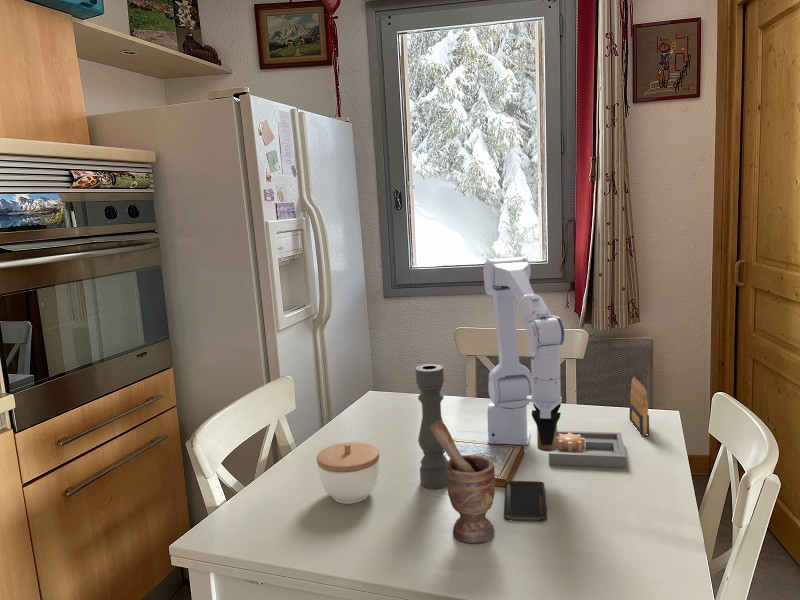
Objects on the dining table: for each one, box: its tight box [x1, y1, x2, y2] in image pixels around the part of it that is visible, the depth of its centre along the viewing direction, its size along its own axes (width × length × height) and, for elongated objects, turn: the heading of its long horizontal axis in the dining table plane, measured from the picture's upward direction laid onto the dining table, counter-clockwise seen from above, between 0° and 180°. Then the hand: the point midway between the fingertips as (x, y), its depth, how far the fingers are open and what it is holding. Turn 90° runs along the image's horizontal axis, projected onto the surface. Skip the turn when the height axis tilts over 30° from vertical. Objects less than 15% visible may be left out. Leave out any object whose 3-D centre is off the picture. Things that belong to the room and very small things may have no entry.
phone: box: [503, 480, 548, 523], centre depth 126 cm, size 8×1×15 cm
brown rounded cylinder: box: [536, 423, 558, 453], centre depth 134 cm, size 4×4×6 cm
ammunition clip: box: [628, 375, 650, 436], centre depth 159 cm, size 11×2×12 cm, turn 175°
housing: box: [548, 430, 627, 469], centre depth 147 cm, size 16×14×4 cm
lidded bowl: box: [316, 441, 380, 505], centre depth 132 cm, size 13×13×11 cm
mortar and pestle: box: [430, 420, 496, 544], centre depth 115 cm, size 12×9×20 cm
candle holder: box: [414, 363, 449, 490], centre depth 135 cm, size 6×6×25 cm
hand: (547, 440), depth 134 cm, fingers closed on brown rounded cylinder, 4 cm apart
